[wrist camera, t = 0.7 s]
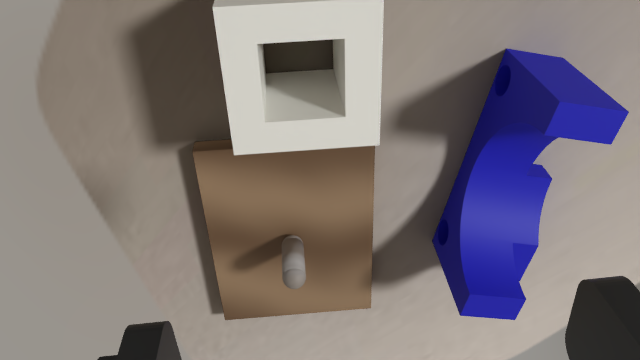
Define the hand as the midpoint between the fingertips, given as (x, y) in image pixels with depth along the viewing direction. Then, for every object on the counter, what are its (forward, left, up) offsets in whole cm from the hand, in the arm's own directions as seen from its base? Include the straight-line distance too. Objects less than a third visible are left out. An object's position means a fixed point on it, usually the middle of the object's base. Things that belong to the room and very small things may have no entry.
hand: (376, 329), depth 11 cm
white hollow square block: (0, -1, -17) cm, 17 cm away
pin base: (+11, -2, -17) cm, 20 cm away
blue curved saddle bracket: (+7, +10, -17) cm, 21 cm away
